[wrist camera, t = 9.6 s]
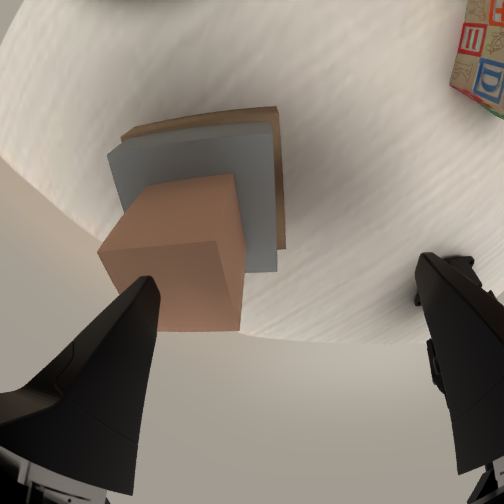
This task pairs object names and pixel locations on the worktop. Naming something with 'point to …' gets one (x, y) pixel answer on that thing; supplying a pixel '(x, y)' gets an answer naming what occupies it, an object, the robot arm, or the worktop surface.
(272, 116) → the tower base
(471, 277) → the robot arm
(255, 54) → the worktop surface
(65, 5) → the worktop surface
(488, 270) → the worktop surface
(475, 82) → the stack of blocks
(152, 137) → the tower top
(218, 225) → the terracotta block
